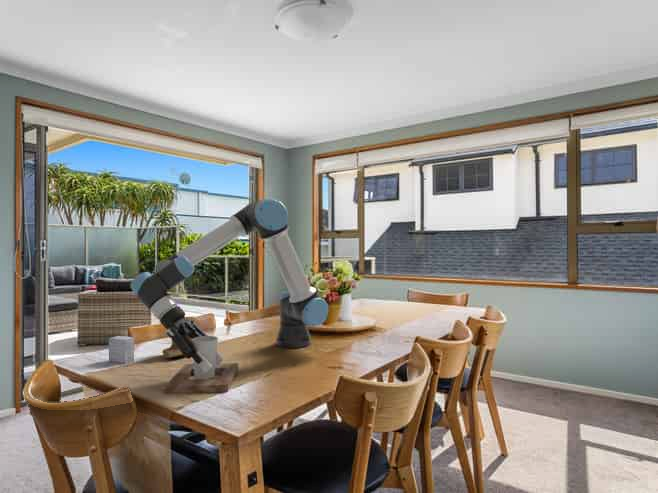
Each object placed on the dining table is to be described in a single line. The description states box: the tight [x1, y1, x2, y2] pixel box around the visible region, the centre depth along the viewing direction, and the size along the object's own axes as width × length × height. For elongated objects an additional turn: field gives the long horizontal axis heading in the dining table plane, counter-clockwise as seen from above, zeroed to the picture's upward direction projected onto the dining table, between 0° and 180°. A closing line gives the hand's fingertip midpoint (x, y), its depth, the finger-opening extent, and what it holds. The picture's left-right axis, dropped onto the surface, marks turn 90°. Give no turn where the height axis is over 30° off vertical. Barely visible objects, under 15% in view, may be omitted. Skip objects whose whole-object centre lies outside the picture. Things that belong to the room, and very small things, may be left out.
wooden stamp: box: [161, 316, 197, 359], centre depth 160 cm, size 15×12×15 cm
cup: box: [192, 335, 219, 379], centre depth 130 cm, size 8×8×12 cm
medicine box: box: [108, 335, 135, 364], centre depth 150 cm, size 8×4×9 cm, turn 71°
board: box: [164, 362, 239, 394], centre depth 130 cm, size 18×22×2 cm
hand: (214, 365), depth 130 cm, fingers closed on cup, 7 cm apart
